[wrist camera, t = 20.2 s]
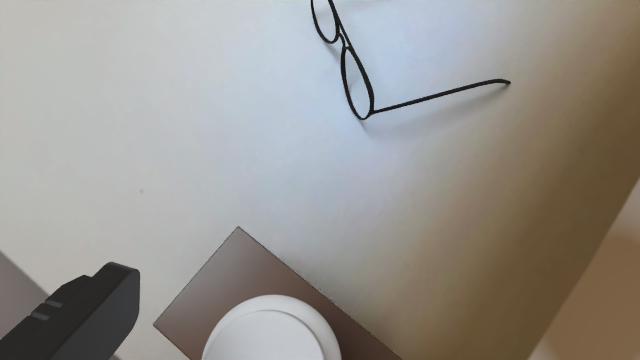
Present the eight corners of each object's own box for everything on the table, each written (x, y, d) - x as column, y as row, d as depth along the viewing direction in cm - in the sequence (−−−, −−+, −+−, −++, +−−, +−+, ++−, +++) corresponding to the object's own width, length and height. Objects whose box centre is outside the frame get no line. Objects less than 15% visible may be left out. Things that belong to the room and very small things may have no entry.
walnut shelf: (195, 321, 31) (152, 324, 22) (256, 248, 33) (238, 225, 24) (332, 443, 29) (341, 498, 20) (389, 357, 30) (421, 374, 22)
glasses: (306, 7, 40) (311, -36, 35) (437, -18, 44) (458, -60, 39) (360, 133, 36) (375, 103, 31) (500, 94, 39) (532, 62, 35)
